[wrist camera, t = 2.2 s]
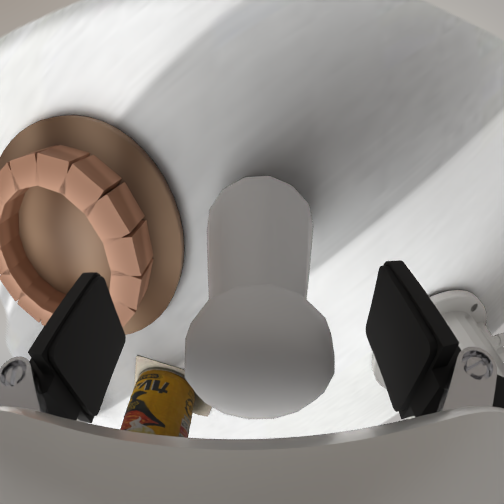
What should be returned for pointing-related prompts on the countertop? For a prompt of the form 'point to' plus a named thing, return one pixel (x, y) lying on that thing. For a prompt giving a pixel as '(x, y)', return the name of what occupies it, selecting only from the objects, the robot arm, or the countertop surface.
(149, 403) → the condiment
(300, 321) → the salt shaker
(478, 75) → the countertop surface
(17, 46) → the countertop surface
